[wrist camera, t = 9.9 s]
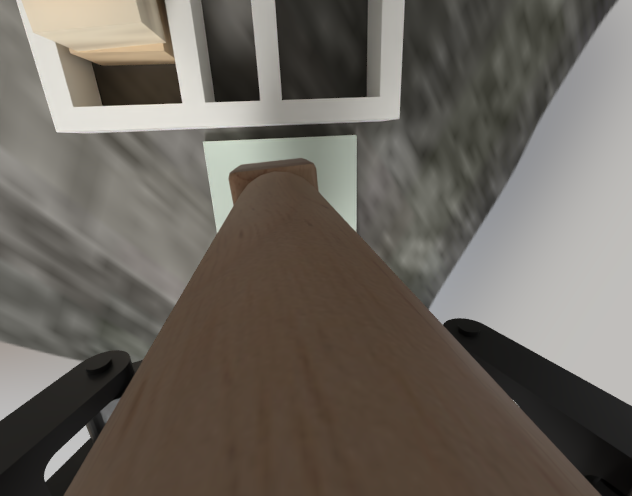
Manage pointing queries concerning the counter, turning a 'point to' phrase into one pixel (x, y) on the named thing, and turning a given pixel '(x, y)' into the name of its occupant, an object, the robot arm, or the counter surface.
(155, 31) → the offcut stack
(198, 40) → the offcut rack
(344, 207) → the sage mat
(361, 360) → the wooden block
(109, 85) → the counter surface
